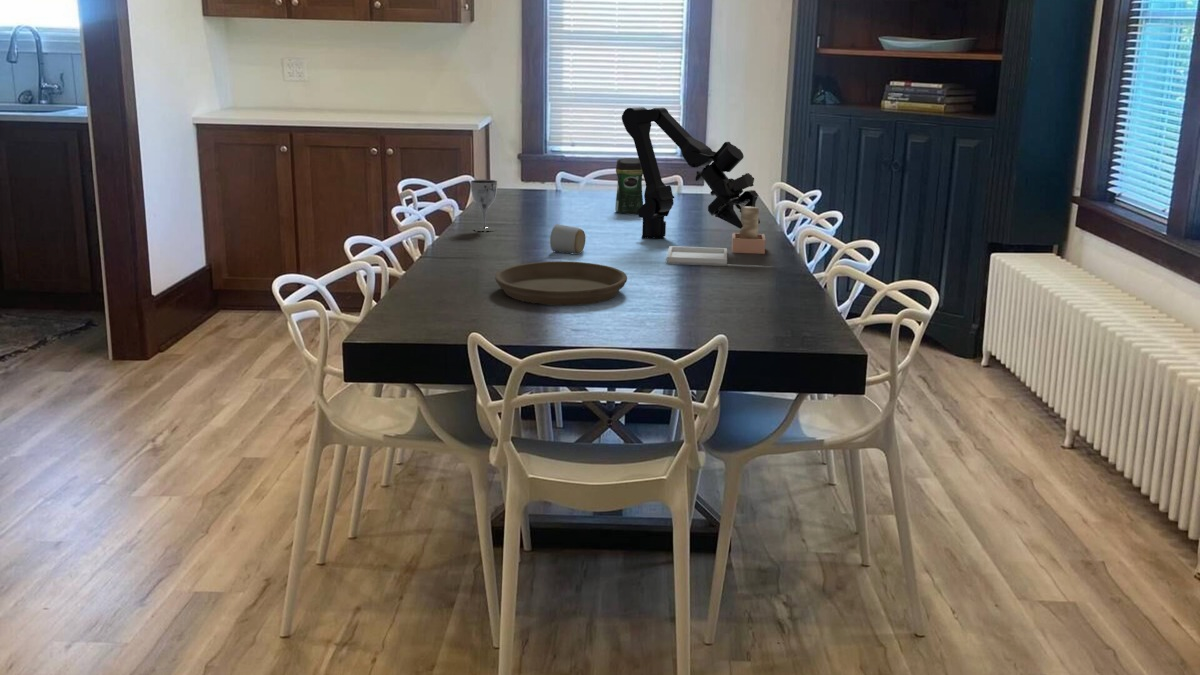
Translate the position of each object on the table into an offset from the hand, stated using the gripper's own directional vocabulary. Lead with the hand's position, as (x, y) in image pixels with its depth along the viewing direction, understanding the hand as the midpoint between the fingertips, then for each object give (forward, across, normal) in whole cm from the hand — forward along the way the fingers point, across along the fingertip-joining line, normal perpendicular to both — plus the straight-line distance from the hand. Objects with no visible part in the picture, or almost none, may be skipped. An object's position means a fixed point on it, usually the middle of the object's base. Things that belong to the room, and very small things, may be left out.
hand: (750, 225), depth 311 cm
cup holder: (+5, 0, +6) cm, 8 cm away
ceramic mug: (-21, -35, +32) cm, 52 cm away
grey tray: (+2, -18, +9) cm, 21 cm away
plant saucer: (+1, -74, +10) cm, 75 cm away
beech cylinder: (+5, 0, +5) cm, 7 cm away
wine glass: (-50, -26, +61) cm, 83 cm away
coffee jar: (-43, +33, +53) cm, 76 cm away
